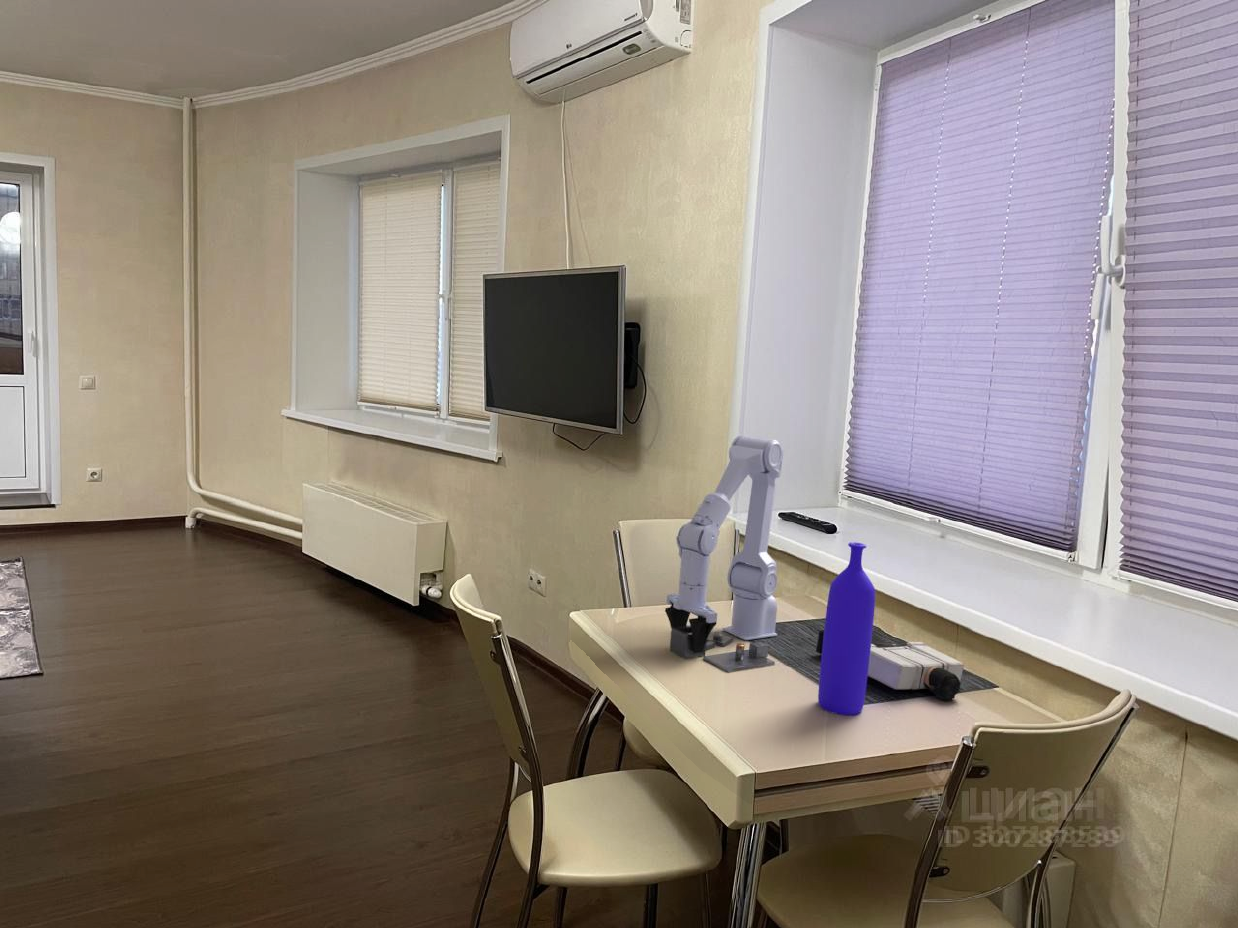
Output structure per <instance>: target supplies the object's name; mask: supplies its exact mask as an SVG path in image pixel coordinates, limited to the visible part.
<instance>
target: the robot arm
mask: <svg viewBox="0 0 1238 928" xmlns="http://www.w3.org/2000/svg"><path fill="white" fill-rule="evenodd" d="M784 452H785V450H784V449H783V447H782V445H781V444H780V442H779V440H777V439H765V438H758V437H751V436H745V435H744V434H743V435H742V434H740V435H737V436H736V437H735V438H734V439H733V441H732V443H731V446H730V447H729V449H728V458H729V462H728V464H727V466H726V468H725V470H724V472H723V474H722V476H721V479H720V480H719V483H717V484H718V485H717V487H716V489H715V491H714V492H712V493H707V494H706V496H705V497H704V499H703V500H702V502H701V504H700V506H699V507H698V509H697V510H696V512H695V514H694V515H693V517H692V518H691V520H690V522H687V523H685V524H683V525H681V527H680V528H679V530H678V532H677V533H678V534H677V535H676V539H675V540H676V545H677V547H678V556H679V558H680V569H679V578H678V579H679V580H678V581H679V582H678V593H677V594H676V593H667V595H666V604H667V605H670V607H666V608H665V611H664V612H665V614H666V617H667V618H668V621H669V625H670V628H671V629H672V627H680V626H688V623H689V625H691V630H692V650H693V652H694V653H699V652H703V649H704V646H705V643H706V641H707V638H708V636H709V634H710V633H712V630H713V629H714V628H715V626H716V625H717V621H718V612H717V611H715V610H713V609H712V608H711V607H710V606H709V605H708V604H707V593H708V591H707V590H708V580H709V572H710V571H709V568H710V558H711V557H710V555H711V554H712V553H713V552H714V550H715V549H716V548H717V546H718V545H717V544H718V541H719V535H720V532H721V531H720V529H721V527H722V525H723V523H724V521H726V518H727V516H728V514H729V513H730V511H731V510H732V509H731V508H732V507H731V504H730V501H731V499H732V498H733V497H734V495H735V493H736V492H737V491H738V490H739V488H740V487H741V485H742V484H743V482H744V481H745V479H746V478H747V477H748V476H749V477H750V478H751V481H752V483H751V488H750V489H751V490H750V497H749V504H748V511H747V512H748V513H747V519H746V525H745V526H746V528H745V534H744V541H743V548H742V550H741V551H739V552H738V553H737V554H734V555H733V556H732V560H731V564H730V567H729V568H728V572H727V575H726V576H727V577H726V578H727V579H726V580H727V584H728V586H729V588H730V589H731V593H733V594H734V595H733V605H732V614H731V615H732V618H731V626H727V627H723V628H722V630H723V632H726V633H728V634H731V635H732V636H734V637H736V638H740V639H742V640H743V641H749V640H750V641H751V640H756V639H764V638H769V637H771V638H772V637H777V636H778V633H776V623H777V614H778V613H777V612H778V604H777V601H776V598H775V597H774V595H773V594H774V592H775V591H776V589H777V585H778V575H777V565H778V564H777V562H776V561H775V560H774V559H773V558H772V556H771V555H770V554H769V553H768V547H769V539H770V532H771V525H772V519H773V511H774V503H775V502H774V501H775V496H776V488H777V482H778V481H777V480H778V478H780V477H781V473H782V468H783V467H782V466H783V459H784ZM691 614H692V615H694V616H697V617H694V618H690V616H691Z"/></svg>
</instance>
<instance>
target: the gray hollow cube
mask: <svg viewBox="0 0 1238 928" xmlns="http://www.w3.org/2000/svg"><path fill="white" fill-rule="evenodd" d="M669 641H670V643H669V652H671V653H672V654H674V655H676V656H678V657H680V658H682V659H684V660H687V659H695V658H701V657H702V658H703V656H706V653H707V652H706V651H707V650H706V643H705V646H704V649H703V652H699V653H694V652H693V650H692V630H691V625H690V624H687V625H686V626H680V627H672V629H671V630H670V640H669Z"/></svg>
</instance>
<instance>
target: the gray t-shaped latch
mask: <svg viewBox="0 0 1238 928" xmlns="http://www.w3.org/2000/svg"><path fill="white" fill-rule="evenodd" d="M732 642H734V638H733V637H732V636H727V635H724V634H723V633H722V632H720V631H715V632H710V634H709V636H708V638H707V641H706V651H709V650H712V649H714V648H715V647H716V646H718V647H723V648H725V647H726V646H727V645H729V644H731V643H732Z"/></svg>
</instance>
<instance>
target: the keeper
mask: <svg viewBox="0 0 1238 928" xmlns="http://www.w3.org/2000/svg"><path fill="white" fill-rule="evenodd" d="M735 645H736V646H735V651H730V652H725V653H717V654H711V655H705V656H702V659H703V661H706V662H707V663H710V664H711V665H713V666H715V667H717V668H719V669H722V670H723V671H725V672H727V673H732V672H740V671H744V670H750V669H755V668H761V667H762V668H763V667H769V666H774V665H775V664H776V663H775V661H774V660H772V659H770V658H769V657H768V655H769V644H767V643H764V642H763V641H756V642H751V643H749V647H748V649H745V644H743V643H740V642H738V643H736V644H735Z"/></svg>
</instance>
